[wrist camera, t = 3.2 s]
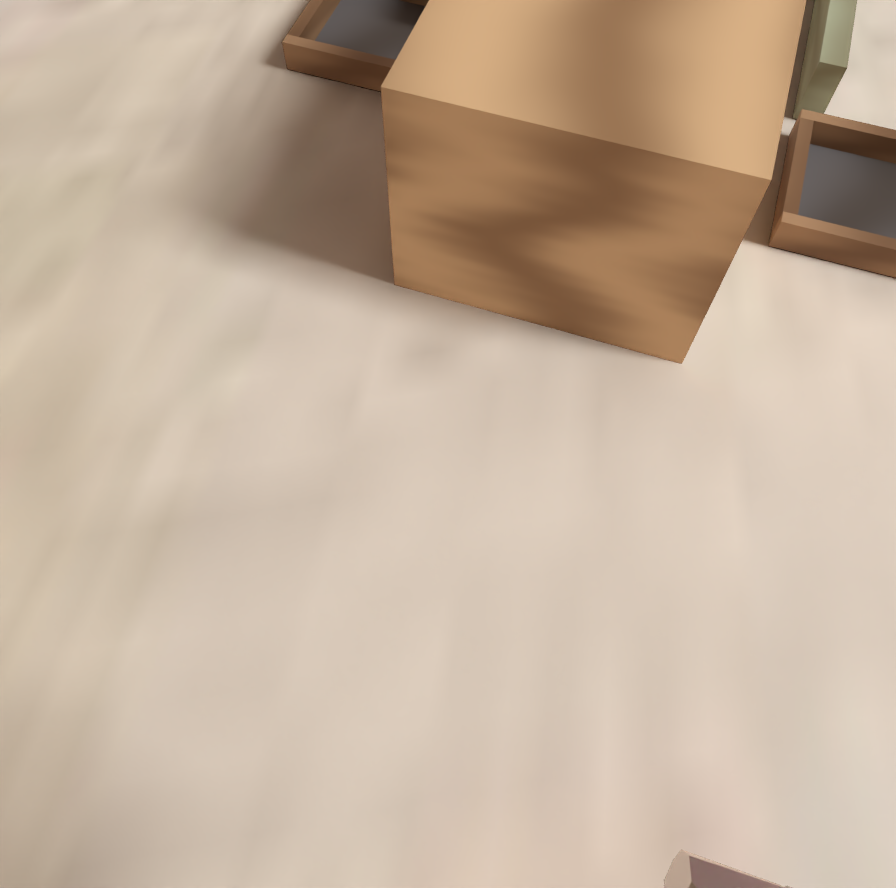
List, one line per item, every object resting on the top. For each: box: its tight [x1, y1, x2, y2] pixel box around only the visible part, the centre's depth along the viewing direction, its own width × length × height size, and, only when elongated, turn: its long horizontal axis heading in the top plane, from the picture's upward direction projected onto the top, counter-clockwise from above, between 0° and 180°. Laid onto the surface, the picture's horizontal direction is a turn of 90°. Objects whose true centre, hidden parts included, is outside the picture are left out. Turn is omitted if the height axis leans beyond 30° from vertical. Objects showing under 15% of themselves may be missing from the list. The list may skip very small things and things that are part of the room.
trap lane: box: [282, 0, 896, 278], centre depth 32 cm, size 26×18×2 cm
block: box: [381, 0, 806, 364], centre depth 26 cm, size 10×10×8 cm
